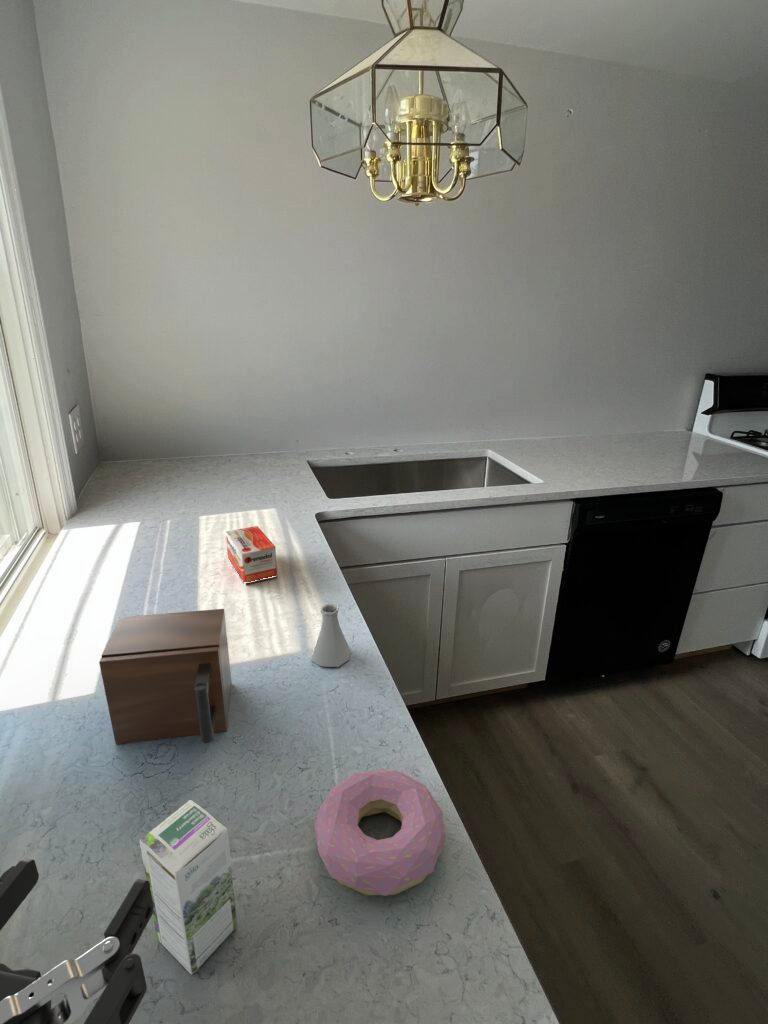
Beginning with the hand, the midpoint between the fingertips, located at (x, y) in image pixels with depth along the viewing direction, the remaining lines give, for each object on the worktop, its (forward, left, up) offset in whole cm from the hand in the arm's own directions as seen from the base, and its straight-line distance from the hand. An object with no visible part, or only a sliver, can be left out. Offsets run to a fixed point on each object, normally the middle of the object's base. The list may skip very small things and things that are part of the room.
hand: (87, 877), depth 38 cm
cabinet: (-3, +45, -24) cm, 51 cm away
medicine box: (+7, +93, -24) cm, 97 cm away
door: (-3, +37, -23) cm, 44 cm away
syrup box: (+4, +10, -24) cm, 26 cm away
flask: (+22, +55, -24) cm, 64 cm away
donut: (+24, +17, -24) cm, 38 cm away
